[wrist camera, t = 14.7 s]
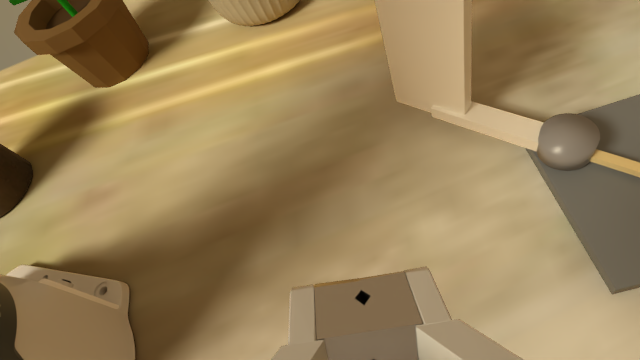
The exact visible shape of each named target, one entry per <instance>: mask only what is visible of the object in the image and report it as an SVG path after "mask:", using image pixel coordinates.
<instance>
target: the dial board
mask: <svg viewBox="0 0 640 360" xmlns="http://www.w3.org/2000/svg"><path fill="white" fill-rule="evenodd" d="M577 115H581V116H584V117H586V118H588V119H590V120H591V121H592V122H593V123H595V125H596V126H597V127H598V129H599V132H600V141H599V144H598V146H597V148H596V149H597V150H601V151H604V152H607V153H610V154H614V155H617V156H620V157H623V158H627V159H630V160H633V161H636V162H640V94H639V95H636V96H633V97H630V98H627V99H623V100H620V101H617V102H614V103H611V104H608V105H605V106H602V107H599V108H596V109H592V110H589V111H586V112H583V113H580V114H577ZM526 150H527V152H528V153H529V155H530V157H531V158H532V160H533V162H534V163H535V165H536V167H537V169H538V170H539V172H540V174H541V175H542V177H543V179H544V180H545V182H546V184H547V185H548V187H549V189H550V190H551V192H552V194H553V195H554V197H555V199H556V201H557V202H558V204H559V206H560V207H561V209H562V211H563V212H564V214H565V216H566V217H567V219H568V221H569V222H570V224H571V226H572V228H573V229H574V231H575V233H576V234H577V236H578V238H579V239H580V241H581V243H582V244H583V246H584V248H585V249H586V251H587V253H588V254H589V256H590V258H591V260H592V261H593V263H594V265H595V266H596V268H597V270H598V271H599V273H600V275H601V276H602V278H603V280H604V281H605V283H606V285H607V287H608V288H609V290H610V292H611V293H612V294H615V293H619V292H623V291H627V290H631V289H635V288H638V287H640V177H637V176H634V175H631V174H628V173H624V172H621V171H618V170H615V169H612V168H609V167H606V166H603V165H600V164H597V163H593V162H589V163H588V164H587V165H586V166H584V167H582V168H580V169H577V170H572V171H561V170H556V169H553V168H551V167H549V166H547V165H546V164H544V163H543V162H542V161H541V160H540V159H539V157H538V155H537V152H536V151H533V150H530V149H527V148H526Z"/></svg>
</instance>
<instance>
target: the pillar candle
mask: <svg viewBox="0 0 640 360" xmlns="http://www.w3.org/2000/svg"><path fill="white" fill-rule="evenodd" d="M32 175H33V171H32V166H31V164H30V163H29V162H28V161H27V160H25V159H24V158H22V157H20V156H19V155H17V154H16V153H14V152H13V151H11V150H9V149H8V148H6V147H5V146H3V145H1V144H0V217H1V216H3V215H4V214H6V213H7V212H9V211H10V210H11V209H12V208H13V207H14V206H15V205H16V204H17V203H18V202H19V201H20V199H22V197H23V196H24V194H25V192H26V190H27V189H28V187H29V184H30V181H31V179H32Z"/></svg>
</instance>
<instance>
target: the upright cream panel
mask: <svg viewBox="0 0 640 360" xmlns="http://www.w3.org/2000/svg"><path fill="white" fill-rule="evenodd" d="M375 4H376V9H377V14H378V18H379V23H380V28H381V32H382V37H383V42H384V47H385V51H386V56H387V61H388V65H389V70H390V75H391V79H392V84H393V89H394V93H395V98H396V101H397V102H400V103H403V104H406V105H409V106H412V107H415V108H418V109H421V110H424V111H427V112H430V113H431V114H432V117H434V118H437V119H440V120H443V121H446V122H449V123H452V124H455V125H458V126H461V127H464V128H467V129H470V130H473V131H476V132H479V133H482V134H485V135H488V136H491V137H494V138H497V139H500V140H503V141H506V142H509V143H512V144H515V145H518V146H521V147H524V148H527V149H530V150H533V151H536V152H537V155H538V157H539V159H540V160H541V161H542V162H543V163H544V164H546V165H547V166H549V167H551V168H553V169H556V170H561V171H572V170H577V169H580V168H582V167H584V166H586V165H587V164H588V163H589V162H593V163H597V164H600V165H603V166H606V167H609V168H612V169H615V170H618V171H621V172H624V173H628V174H631V175H634V176H637V177H640V162H636V161H633V160H630V159H627V158H623V157H620V156H617V155H614V154H610V153H607V152H604V151H601V150H597V149H596V148H597V146H598V144H599V141H600V132H599V129H598V127H597V126H596V125H595V123H593V122H592V121H591V120H590V119H588V118H586V117H584V116H581V115H577V114H559V115H556V116H553V117H551V118H549V119H548V120H546V121H545V122H540V121H537V120H533V119H530V118H527V117H523V116H520V115H517V114H513V113H510V112H506V111H503V110H500V109H496V108H493V107H489V106H486V105H483V104H479V103H476V102H472V101H471V69H472V0H375Z"/></svg>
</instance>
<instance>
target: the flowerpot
mask: <svg viewBox="0 0 640 360" xmlns="http://www.w3.org/2000/svg"><path fill="white" fill-rule="evenodd" d="M24 1H27V0H9V2H10V3H12V4H13V5H16V4H19V3H21V2H24ZM14 33H15V34H16V35H17V36H18V37H19V38H20V39H21V41H22V42H23V43H24V44H26V45H27V46H28V47H29V48H30V49H31V50H32V51H33V52H35V53H36V54H37V55H43V54H50V55H52V56H53V57H54V58H56V59H57V60H59V61H60V62H61V63H63V64H64V65H65V66H67V67H68V68H70V69H71V70H72V71H74V72H75V73H76V74H78V75H79V76H80V77H82V78H83V79H85V80H86V81H87V82H89V83H90V84H91V85H93V86H94V87H111V86H113V85H116V84H118V83H120V82H123V81H125V80H127V79H128V78H129V77H130V76H131V75H132V74H133V73H135V72H136V71H137V70H138V69H139V68H140V67H141V66H142V64H143V62H144V61H145V59H146V57H147V56H148V54H149V49H148V41H147V40H146V38H145V36H144V35H143V33H142V31H141V30H140V28H139V27H138V25H137V23H136V22H135V20H134V18H133V17H132V15H131V13H130V12H129V10H128V9H127V7H126V5H125V4H124V2H123V0H32V1H31V2H30V3H29V4H28V6H27V7H26V8H25V9H24V10H23V12H22V13H21V14H20V15H19V17H18V21H17V24H16V28H15V31H14Z"/></svg>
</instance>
